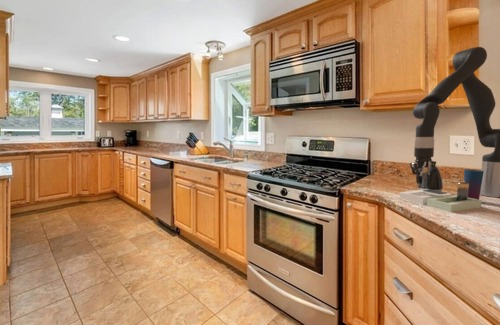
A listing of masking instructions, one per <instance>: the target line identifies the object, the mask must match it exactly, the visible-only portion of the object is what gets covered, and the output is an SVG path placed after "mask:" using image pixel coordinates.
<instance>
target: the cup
mask: <svg viewBox="0 0 500 325" xmlns="http://www.w3.org/2000/svg"><path fill="white" fill-rule="evenodd" d="M483 173H484V171H483V170H482V169H475V168H465V169H463V181H466V182H467V183H469V189H468V198H473V199H478V200H480V197H481V194H480V191H481V185H482V179H483Z"/></svg>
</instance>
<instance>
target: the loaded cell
mask: <svg viewBox="0 0 500 325" xmlns="http://www.w3.org/2000/svg"><path fill="white" fill-rule="evenodd" d="M468 189H469V183H467V182H466V181H464V180H461V181H458V182H457V189H456V190H457V193H456V195H457V202H458V201H465V200H468Z"/></svg>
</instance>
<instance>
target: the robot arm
mask: <svg viewBox="0 0 500 325" xmlns="http://www.w3.org/2000/svg"><path fill="white" fill-rule="evenodd" d="M487 57H488V53H487V50H486V49H485V48H484V47H483V46H475V47H472V48H467V49H464V50H461V51H458V52H456V53H454V55H453V57H452V66H453V70H454V72H452V73H451V74H449V75H448V76H447V77H445V78H443V79H442V80H441V81H440V82H439V83H438V84H436V86H435V87H434V88H433V89H432V90H431V92H430V93H429V94H428V95H426V96H425V97H424V98H423V99H421V100H420V101H419V102H417V103H416V105H415V106H414V107H413V110H412V115H413V117H414V118H416V119H418V120H419V119H420V120H422V119H423V120H422V122H421V123H419V124H417V125H416V128H415V138H414V139H415V140H414V151H413V154H414V155H413V156H414V158H415V160H414V162H410V168H411V172H412V174H413V175H415V176H416V180H415V182H416V184H417V185H418V184H422V173H423V171H424V169H425V167H428V174H427V183H428V182H429V175H430V174H432V173H433V171H434V168H435V166H436V164H437V161H434V160H432V158H433V157H434V153H435V151H434V150H435V127H436V124H437V122H438V119H439V116H440V110H441V109H440V107H439V105H442V104H444V103H445V102H446V101H447V99H448V98H449V97H450V96H451V94H453V92H455V90H456V89H457V88H458V87H459V86H460V85H462V88H463V91H464V93H465V96H466V101H467V102H468V103H467V104H468V105H469V108H470V110H471V113H472V117H473V119H474V123H475V127H476V132H477V136H478V140H479V143H480V144H481V146H483V147H484V148H493V149H494V150H493V151H492V152H491V153H488V154H484V155H482V157H481V158H482V159H481V170H483V171H484V173H483V179H482V185H481V191H480V196H485V197H491V198H500V128H492V126H491V123H490V119H491V116H492V113H493V112H494V110H495V108H496V99H495V97H494V93H493V91H492V89H491V88H490V87H489V86H488V85H487V84H485V83H484V82H483V81H481V80H480V79H479V78H478V77H477V76H476V74H475V72H476V71H478V69H480V68H481V67H482V66H484V64H485V63H486V60H487ZM419 168H421V169H419ZM430 170H431V171H430ZM419 171H420V173H419Z"/></svg>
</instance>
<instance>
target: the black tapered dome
mask: <svg viewBox="0 0 500 325" xmlns="http://www.w3.org/2000/svg"><path fill="white" fill-rule="evenodd" d="M430 171H431V170H430ZM426 189H431V190H436V191H441V192H443V189H444V183H443V177H442V174H441V172H440V170H439V168H438V167H437V166H436V165H435V168H434V171H433V173H432V174H430V175H429V182H428V183H427V188H426ZM419 190H424V189H422V188H419Z"/></svg>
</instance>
